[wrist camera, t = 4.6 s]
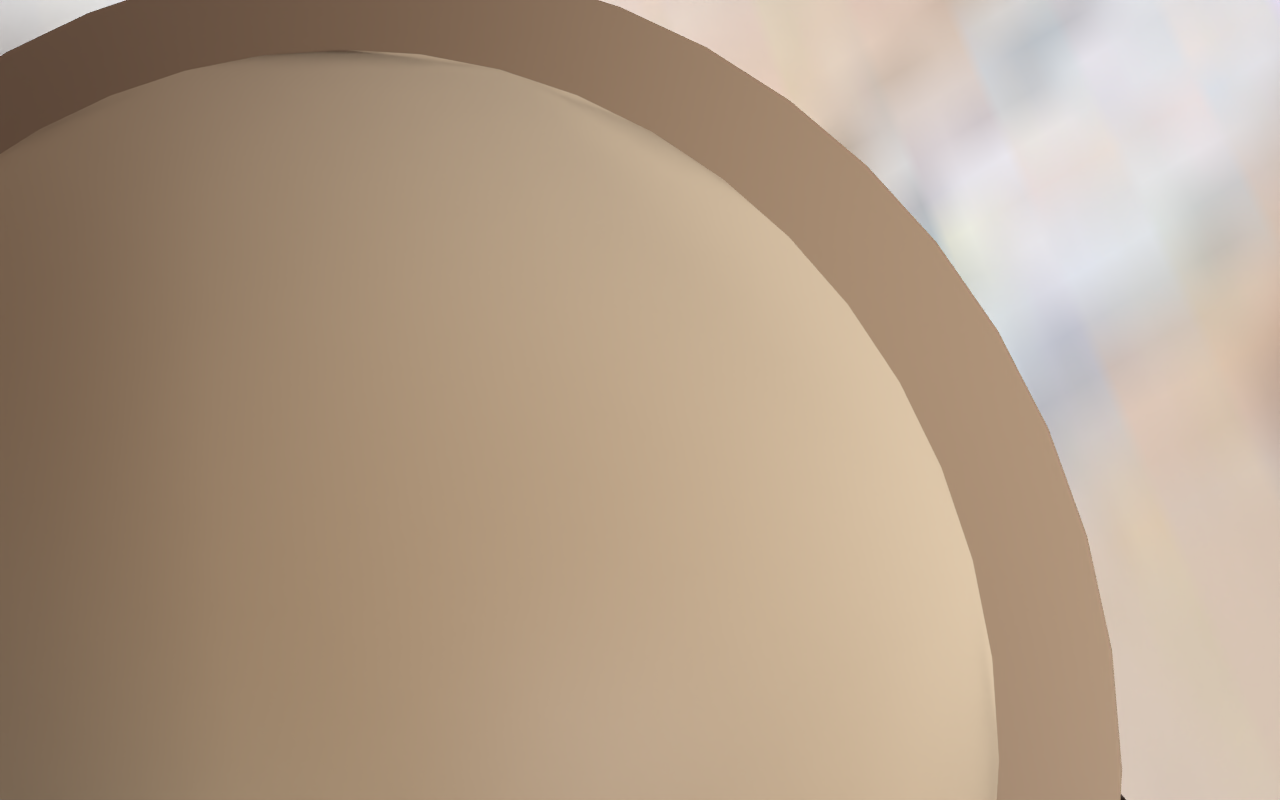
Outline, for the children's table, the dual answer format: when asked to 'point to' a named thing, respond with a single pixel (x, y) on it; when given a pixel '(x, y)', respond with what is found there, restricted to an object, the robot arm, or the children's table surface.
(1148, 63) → the children's table surface
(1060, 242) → the children's table surface
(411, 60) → the beech plug
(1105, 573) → the children's table surface
